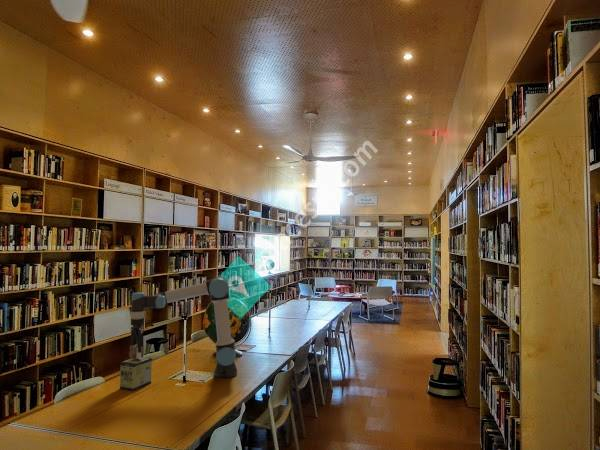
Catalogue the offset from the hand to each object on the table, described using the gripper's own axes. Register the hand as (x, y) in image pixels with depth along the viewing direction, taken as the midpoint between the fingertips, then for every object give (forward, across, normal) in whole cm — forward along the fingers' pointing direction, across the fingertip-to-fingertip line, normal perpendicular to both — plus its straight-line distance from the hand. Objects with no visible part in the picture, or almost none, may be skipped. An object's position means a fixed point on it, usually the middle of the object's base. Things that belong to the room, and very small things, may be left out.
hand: (136, 356), depth 248 cm
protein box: (+18, 0, 0) cm, 18 cm away
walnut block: (0, 0, 0) cm, 0 cm away
